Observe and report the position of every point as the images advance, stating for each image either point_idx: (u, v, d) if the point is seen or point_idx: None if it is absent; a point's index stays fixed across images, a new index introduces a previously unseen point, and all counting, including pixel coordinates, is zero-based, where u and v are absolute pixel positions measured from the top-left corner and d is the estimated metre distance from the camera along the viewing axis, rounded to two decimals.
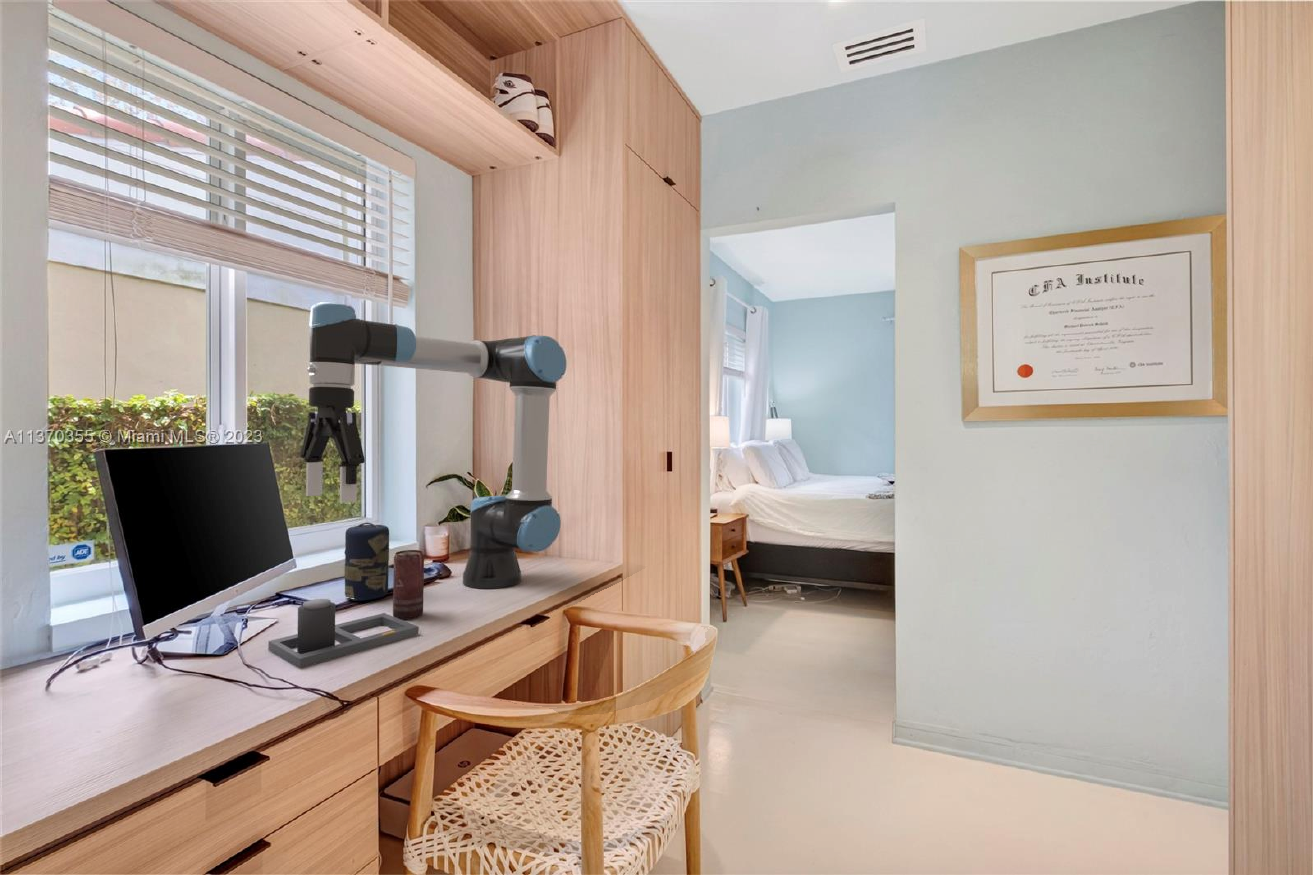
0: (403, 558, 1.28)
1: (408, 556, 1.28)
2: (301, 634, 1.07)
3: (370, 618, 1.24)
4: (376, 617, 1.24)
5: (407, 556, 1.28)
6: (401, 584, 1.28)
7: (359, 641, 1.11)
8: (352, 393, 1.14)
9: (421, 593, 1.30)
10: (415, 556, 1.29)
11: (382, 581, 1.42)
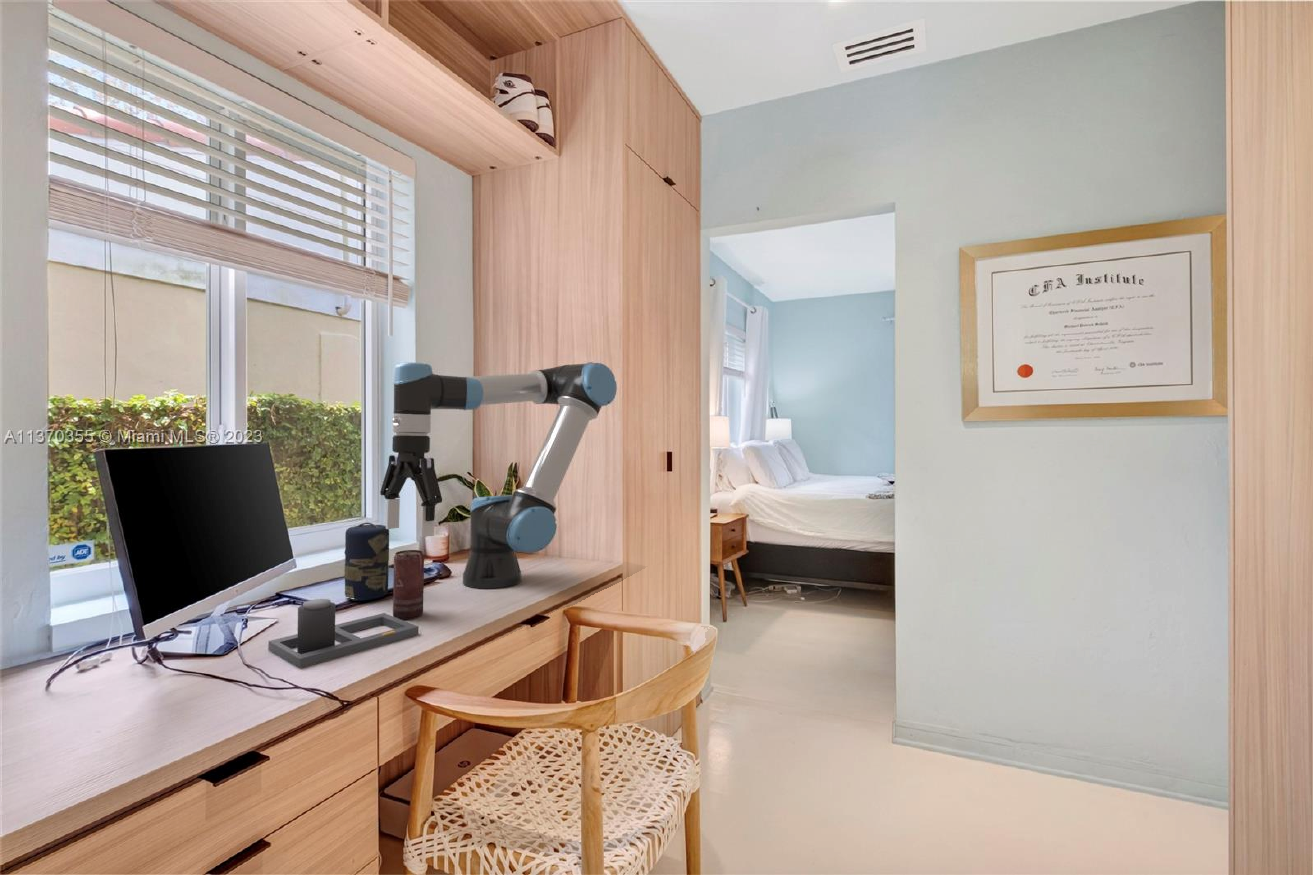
0: (403, 558, 1.28)
1: (408, 556, 1.28)
2: (301, 634, 1.07)
3: (370, 618, 1.24)
4: (376, 617, 1.24)
5: (407, 556, 1.28)
6: (401, 584, 1.28)
7: (359, 641, 1.11)
8: (429, 440, 1.30)
9: (421, 593, 1.30)
10: (415, 556, 1.29)
11: (382, 581, 1.42)
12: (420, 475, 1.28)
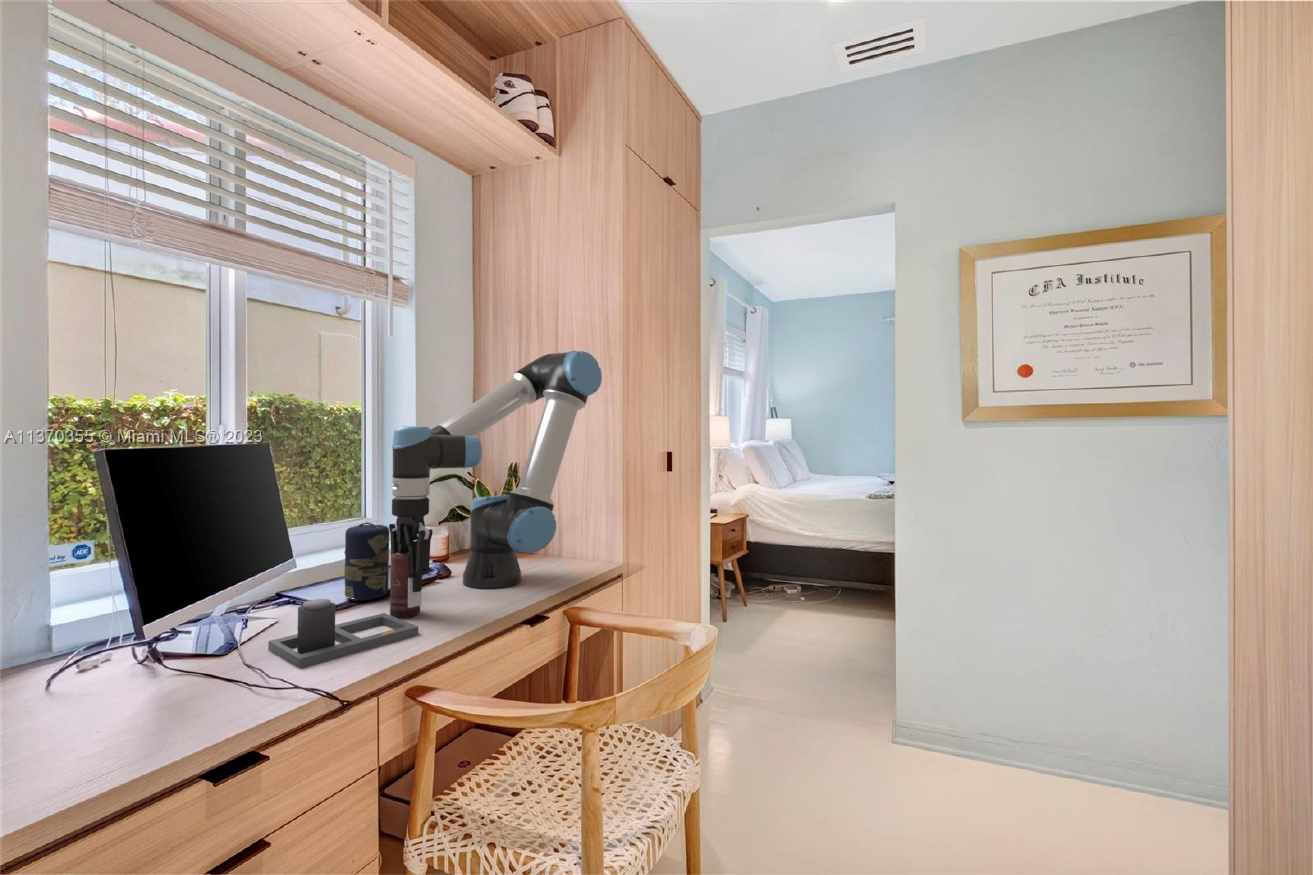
0: (400, 557, 1.28)
1: (405, 555, 1.29)
2: (301, 634, 1.07)
3: (370, 618, 1.24)
4: (376, 617, 1.24)
5: (404, 555, 1.29)
6: (398, 583, 1.28)
7: (359, 641, 1.11)
8: (428, 502, 1.31)
9: None
10: None
11: (382, 581, 1.42)
12: (416, 542, 1.29)
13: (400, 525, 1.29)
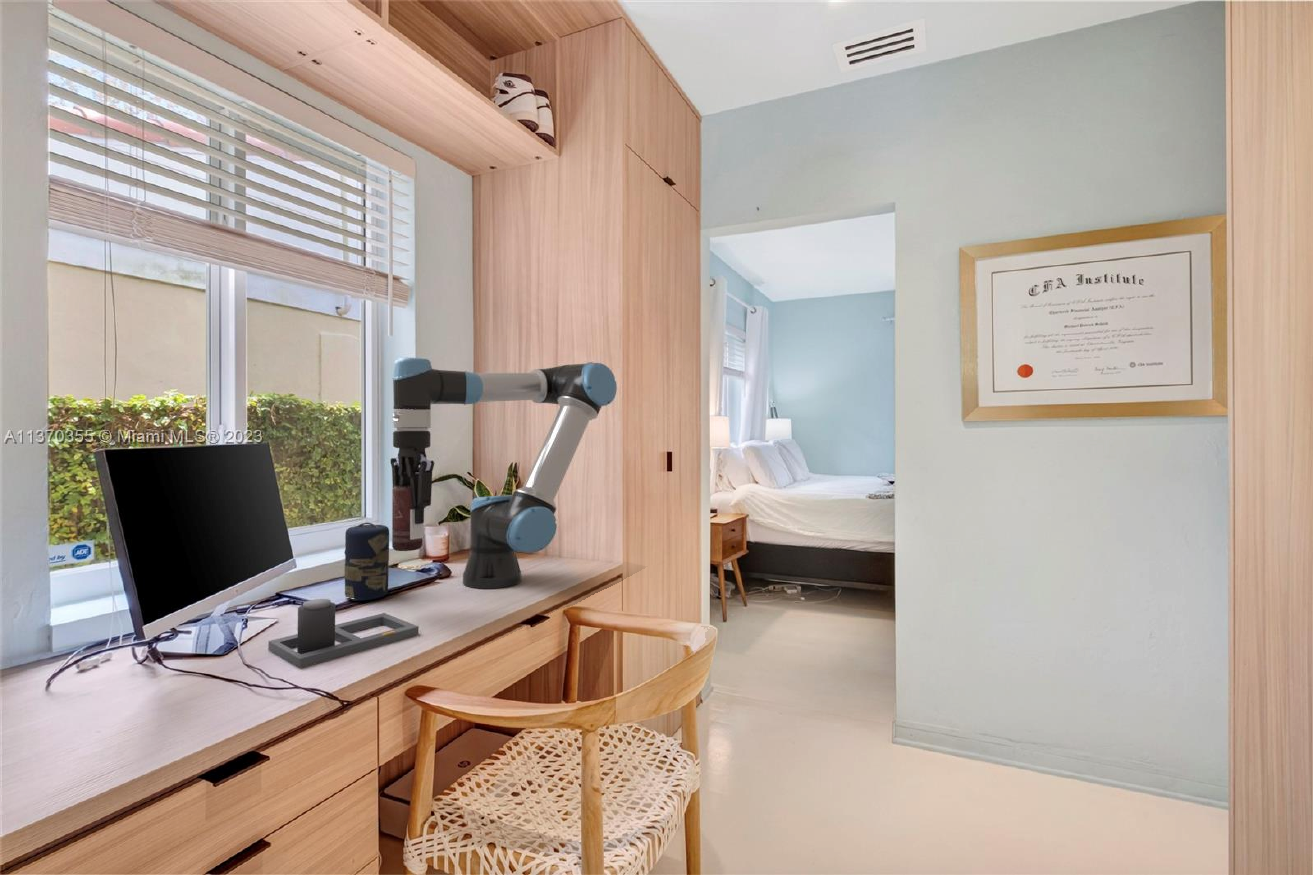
0: (402, 489, 1.28)
1: (407, 487, 1.28)
2: (301, 634, 1.07)
3: (370, 618, 1.24)
4: (376, 617, 1.24)
5: (406, 487, 1.28)
6: (400, 515, 1.28)
7: (359, 641, 1.11)
8: (429, 435, 1.30)
9: None
10: None
11: (382, 581, 1.42)
12: (417, 474, 1.29)
13: (401, 457, 1.29)
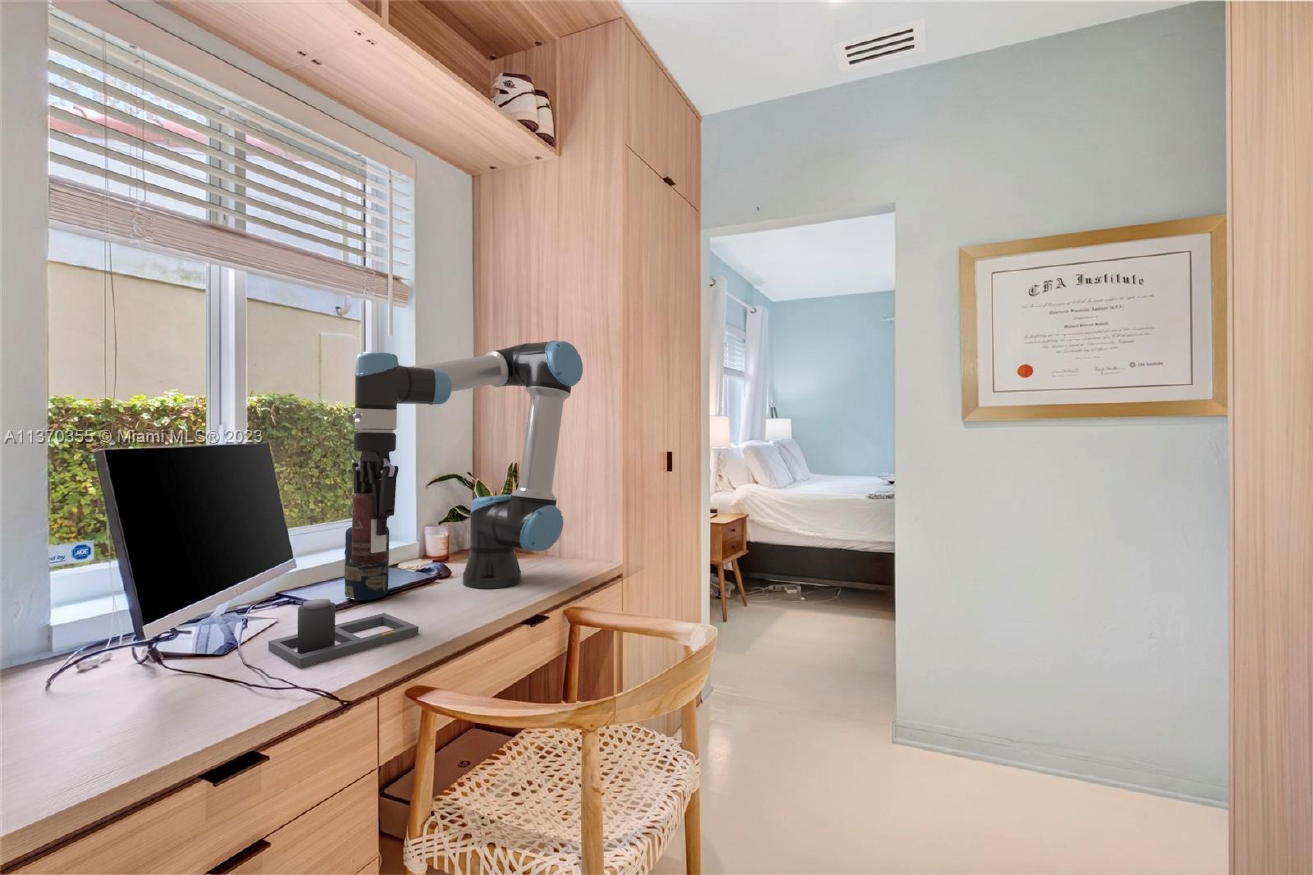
0: (363, 497, 1.16)
1: (368, 495, 1.16)
2: (301, 634, 1.07)
3: (370, 618, 1.24)
4: (376, 617, 1.24)
5: (367, 495, 1.16)
6: (360, 526, 1.16)
7: (359, 641, 1.11)
8: (394, 437, 1.18)
9: None
10: None
11: (382, 581, 1.42)
12: (380, 481, 1.17)
13: (363, 462, 1.17)
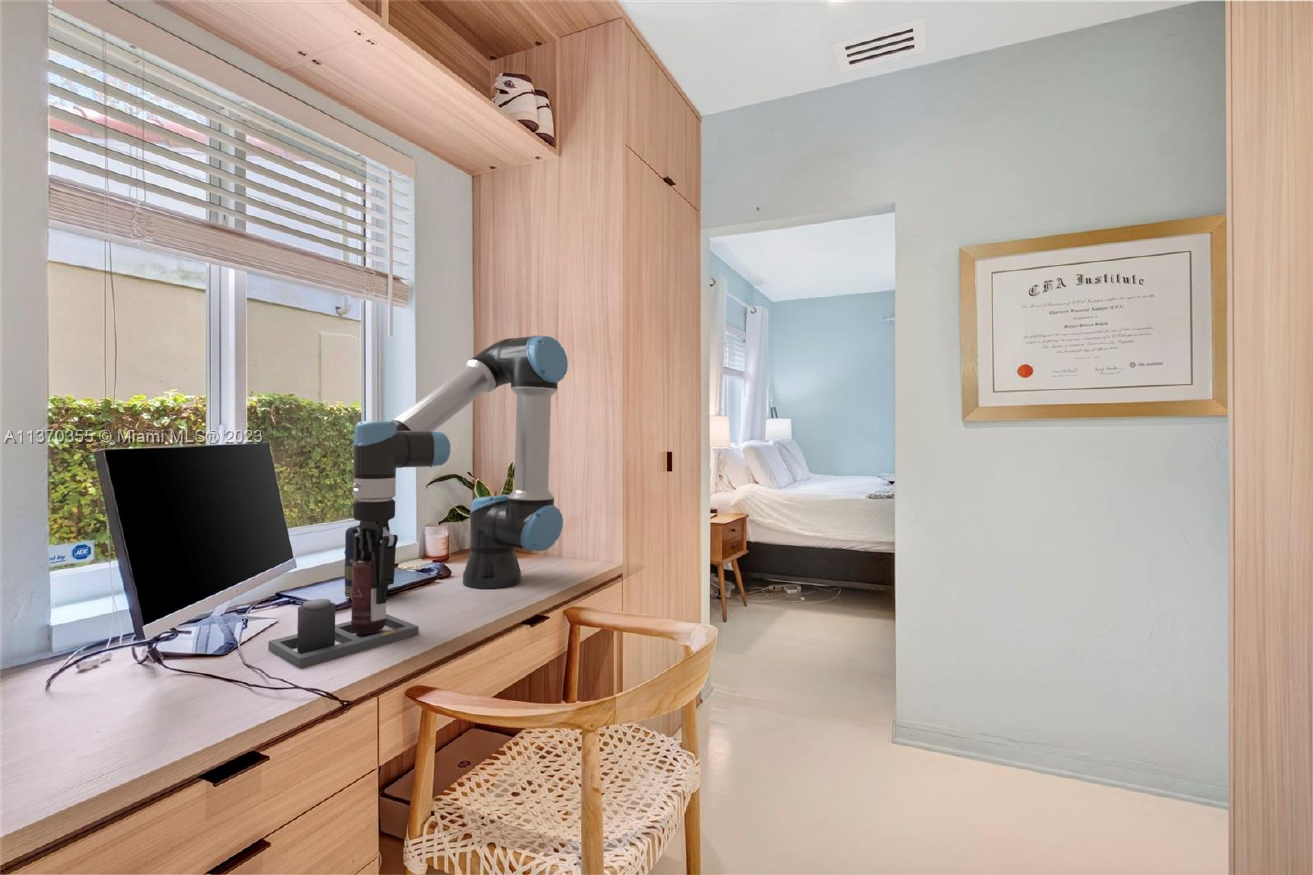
0: (362, 566, 1.16)
1: (368, 563, 1.17)
2: (301, 634, 1.07)
3: None
4: None
5: (367, 563, 1.16)
6: (360, 594, 1.16)
7: (359, 641, 1.11)
8: (394, 505, 1.19)
9: None
10: None
11: None
12: (380, 549, 1.17)
13: (362, 530, 1.17)
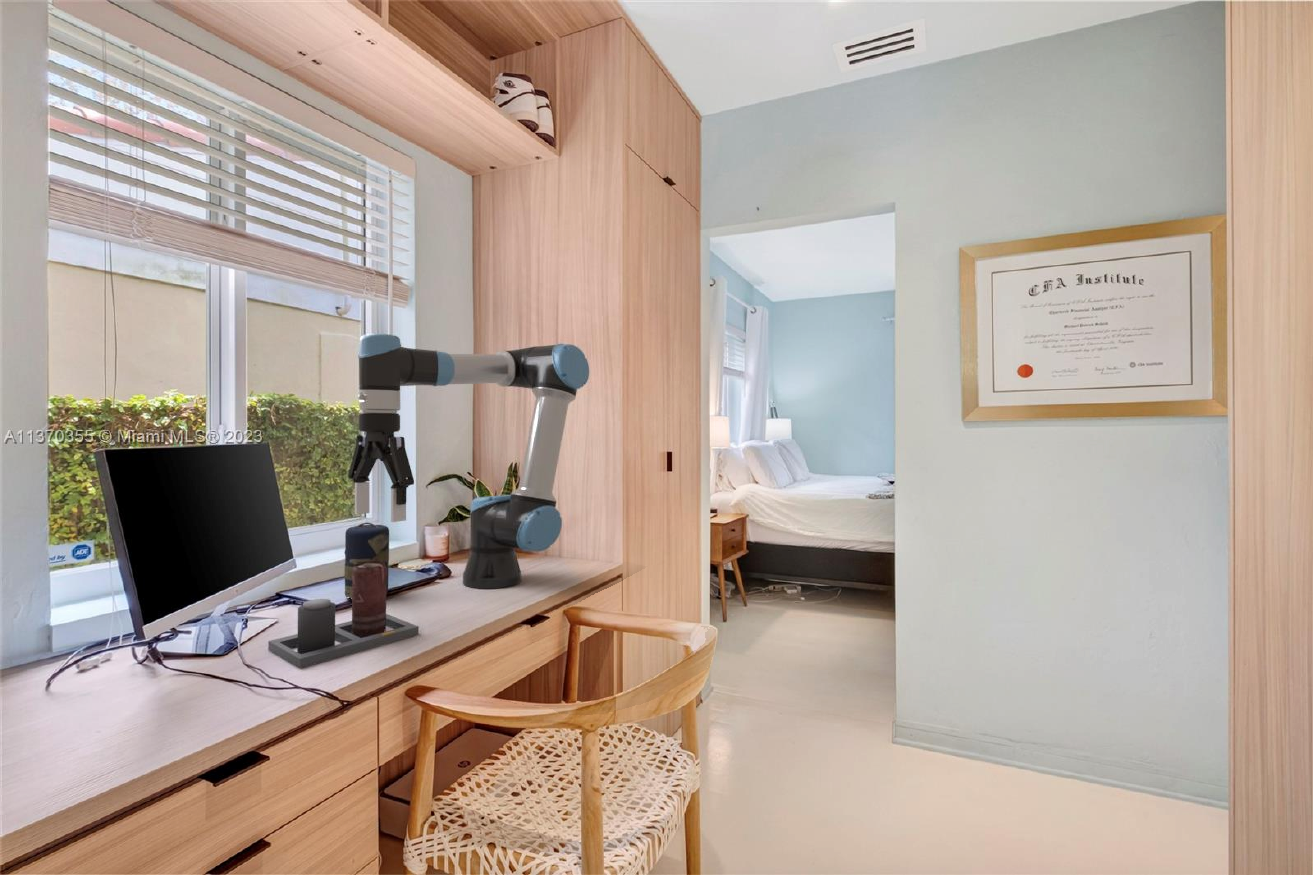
0: (363, 571, 1.16)
1: (369, 568, 1.16)
2: (301, 634, 1.07)
3: None
4: None
5: (368, 568, 1.16)
6: (361, 600, 1.16)
7: (359, 641, 1.11)
8: (399, 418, 1.21)
9: (383, 608, 1.19)
10: (377, 568, 1.17)
11: None
12: (390, 455, 1.18)
13: (368, 442, 1.20)
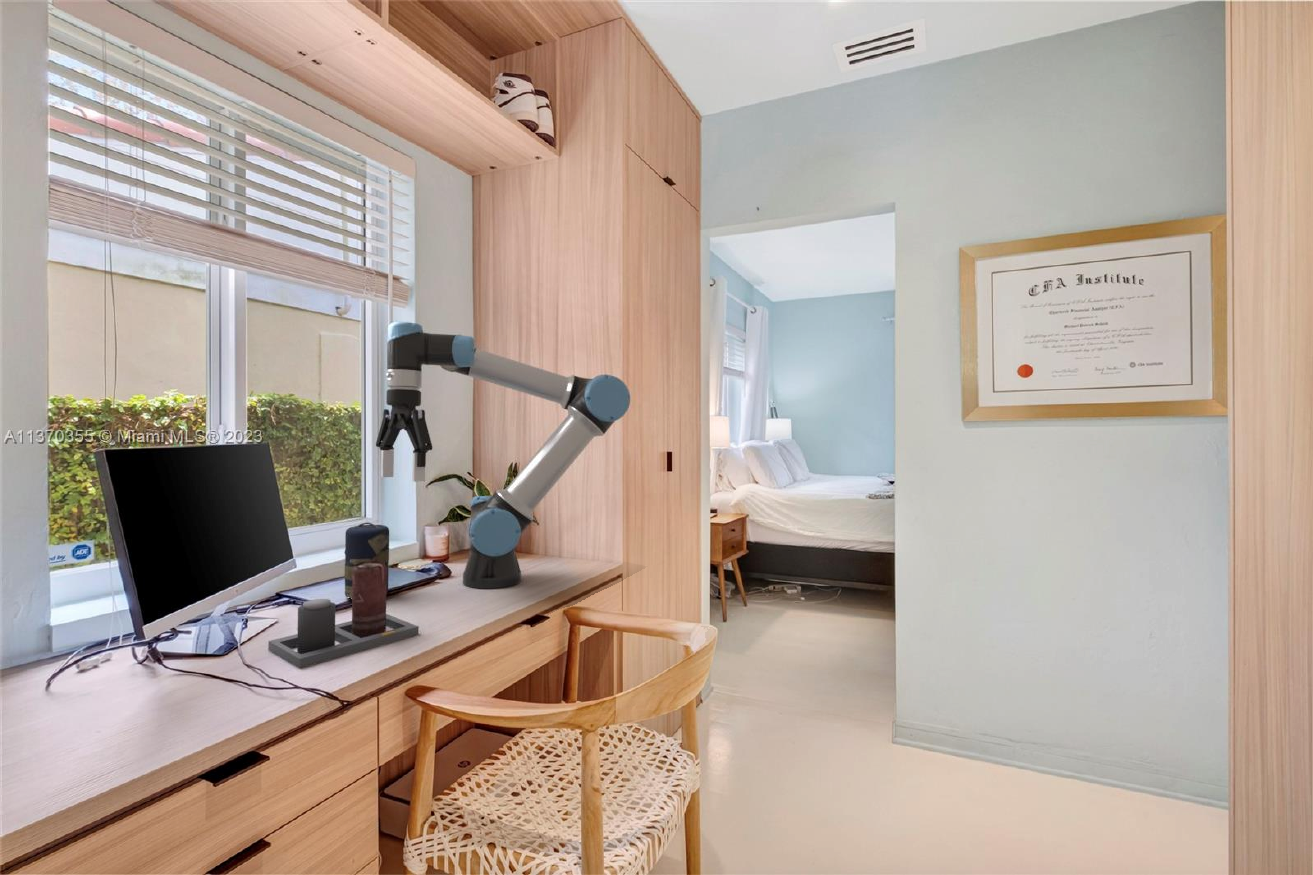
0: (363, 570, 1.16)
1: (369, 568, 1.17)
2: (301, 634, 1.07)
3: None
4: None
5: (368, 568, 1.17)
6: (361, 599, 1.16)
7: (359, 641, 1.11)
8: (420, 394, 1.41)
9: (383, 608, 1.19)
10: (377, 568, 1.17)
11: None
12: (412, 426, 1.39)
13: (394, 414, 1.40)
